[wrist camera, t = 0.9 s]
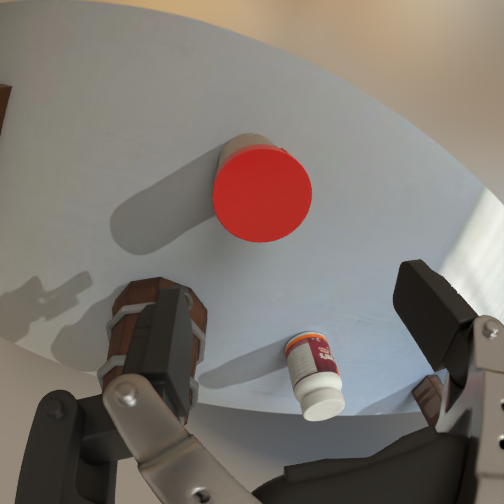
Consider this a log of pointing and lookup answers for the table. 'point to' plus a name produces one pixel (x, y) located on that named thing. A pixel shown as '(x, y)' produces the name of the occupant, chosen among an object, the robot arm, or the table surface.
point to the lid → (261, 193)
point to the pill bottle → (314, 376)
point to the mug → (124, 324)
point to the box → (429, 398)
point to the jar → (241, 145)
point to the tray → (3, 101)
